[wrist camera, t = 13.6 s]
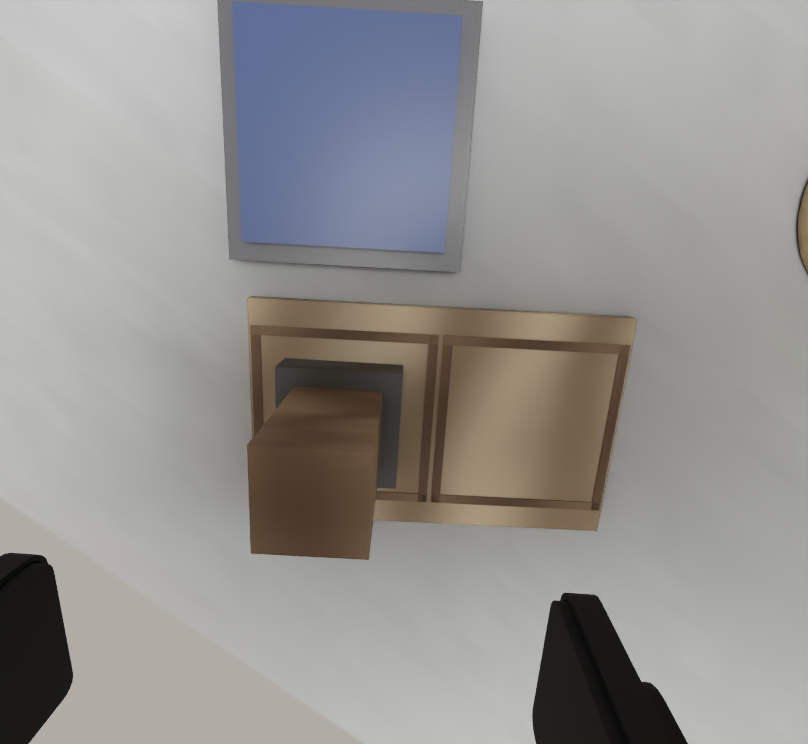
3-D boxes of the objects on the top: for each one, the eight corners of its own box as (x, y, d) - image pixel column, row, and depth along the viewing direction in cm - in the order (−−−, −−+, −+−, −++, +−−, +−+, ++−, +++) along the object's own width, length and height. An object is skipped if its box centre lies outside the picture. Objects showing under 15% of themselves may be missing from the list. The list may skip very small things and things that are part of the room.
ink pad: (478, 16, 16) (486, -8, 15) (457, 270, 19) (461, 272, 17) (228, 0, 16) (209, -26, 15) (238, 258, 19) (223, 259, 17)
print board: (630, 317, 19) (638, 319, 19) (591, 523, 22) (597, 531, 21) (252, 296, 19) (246, 298, 18) (259, 506, 22) (255, 514, 21)
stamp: (403, 364, 19) (402, 428, 12) (396, 471, 20) (392, 582, 14) (284, 357, 19) (218, 418, 12) (285, 465, 20) (226, 573, 14)
